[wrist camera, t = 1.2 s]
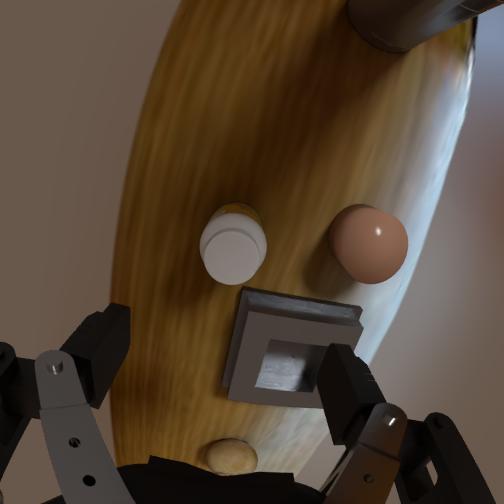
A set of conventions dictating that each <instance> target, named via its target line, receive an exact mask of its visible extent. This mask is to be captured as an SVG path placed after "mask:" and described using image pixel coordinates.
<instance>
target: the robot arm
mask: <svg viewBox="0 0 504 504" xmlns="http://www.w3.org/2000/svg"><path fill="white" fill-rule="evenodd" d="M501 4H504V0H349V1H348V6H347V9H348V15H349V18H350V21H351V22H352V24H353V26H354V28H355V29H356V30H357V31H358V32H359V34H360V35H361V36H362V37H364V38H365V39H366V40H367V41H368V42H370V43H371V44H373V45H374V46H376V47H378V48H380V49H382V50H385V51H388V52H394V53H402V52H406V51H409V50H410V49H412V48H414V47H416V46H418V45H419V44H421V43H423V42H425V41H427V40H429V39H431V38H433V37H434V36H436V35H438V34H440V33H442V32H444V31H446V30H448V29H450V28H452V27H454V26H456V25H458V24H460V23H462V22H464V21H466V20H468V19H470V18H472V17H475V16H477V15H479V14H481V13H483V12H485V11H487V10H490V9H492V8H494V7H497V6H499V5H501ZM129 346H130V307H128V306H124V305H120V304H116V303H110V304H109V306H108V307H107V308H106V309H105V310H104V312H103V313H102V312H98V311H97V312H95V313H93V314H91V315H89V316H87V317H86V318H85V320H84V321H83V322H82V323H81V325H79V327H78V328H77V329H76V331H74V332H73V334H72V335H71V336H70V337H69V339H67V341H66V342H65V343H64V344H63V346H62V347H61V348H60V349H59V350H50V351H46V352H44V353H42V354H40V355H39V356H38V357H37V359H36V360H32V359H25V358H19V357H16V354H15V350H14V348H13V347H12V346H11V345H10V344H8V343H5V342H0V481H1V478H2V476H3V474H4V471H5V469H6V467H7V465H8V463H9V461H10V459H11V457H12V455H13V453H14V451H15V449H16V446H17V445H18V443H19V441H20V439H21V437H22V435H23V433H24V431H25V429H26V427H27V426H28V424H29V422H30V420H31V418H35V419H41V423H42V428H43V432H44V436H45V440H46V444H47V448H48V452H49V455H50V459H51V462H52V465H53V469H54V472H55V475H56V478H57V481H58V484H59V487H60V489H61V492H62V495H60V496H58V497H55V498H53V499H51V500H49V501H46V502H44V503H41V504H385V503H386V500H387V498H388V496H389V493H390V490H391V488H392V486H393V483H394V482H395V485H396V488H397V492H398V495H399V498H400V502H401V504H496V502H495V500H494V498H493V496H492V494H491V492H490V490H489V488H488V486H487V484H486V482H485V480H484V478H483V476H482V474H481V472H480V470H479V468H478V466H477V464H476V462H475V460H474V458H473V456H472V455H471V453H470V451H469V449H468V448H467V445H466V444H465V442H464V440H463V438H462V436H461V435H460V433H459V431H458V429H457V428H456V426H455V424H454V423H453V421H452V420H451V419H450V418H449V417H448V416H446V415H444V414H442V413H438V412H434V413H431V414H429V415H428V416H427V417H426V419H425V420H424V421H423V422H422V421H416V420H410V419H407V415H406V414H405V412H404V411H403V410H402V409H401V408H400V407H398V406H396V405H394V404H390V403H387V402H386V400H385V398H384V396H383V394H382V392H381V390H380V388H379V387H378V384H377V383H376V382H375V379H374V377H373V375H371V371H370V369H369V368H368V366H367V364H366V363H365V362H364V361H362V360H361V359H360V358H359V357H356V356H355V354H354V352H353V350H352V348H351V346H350V345H348V344H339V343H331V344H330V345H329V346H328V349H327V351H326V354H325V356H324V359H323V361H322V363H321V366H320V368H319V370H318V373H317V379H316V384H317V389H318V392H319V395H320V399H321V402H322V406H323V409H324V413H325V416H326V420H327V423H328V427H329V430H330V434H331V437H332V441H333V444H334V445H345V446H346V450H345V451H344V452H343V454H342V455H341V457H340V459H339V460H338V462H337V464H336V465H335V467H334V469H333V470H332V472H331V473H330V475H329V476H328V478H327V479H326V481H325V482H324V484H323V485H322V487H321V488H320V489H319V490H316V489H314V488H312V487H309V486H307V485H304V484H301V483H297V482H294V475H293V473H277V472H254V473H246V474H238V475H228V476H222V475H218V474H215V473H212V472H209V471H206V470H203V469H201V468H198V467H195V466H193V465H190V464H188V463H185V462H179V461H174V460H170V459H165V458H160V457H156V456H152V455H150V458H149V462H148V464H131V465H125V466H121V467H117V468H116V467H115V465H114V463H113V460H112V458H111V456H110V454H109V452H108V450H107V447H106V445H105V443H104V441H103V438H102V436H101V434H100V431H99V429H98V426H97V424H96V421H95V418H94V416H93V413H92V411H91V408H90V407H93V408H96V409H99V407H100V406H101V403H102V402H103V400H104V398H105V396H106V394H107V392H108V390H109V388H110V386H111V384H112V382H113V380H114V378H115V376H116V374H117V372H118V370H119V368H120V366H121V364H122V363H123V361H124V359H125V357H126V355H127V353H128V350H129ZM431 460H432V463H433V465H434V467H435V470H436V472H437V475H438V478H437V483H436V484H435V486H434V484H433V482H432V479H431V477H430V474H429V472H428V469H427V467H426V465H427V464H428V463H429V462H430V461H431ZM3 500H4V499H3V495H2V492H1V490H0V504H3V502H4V501H3Z"/></svg>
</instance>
